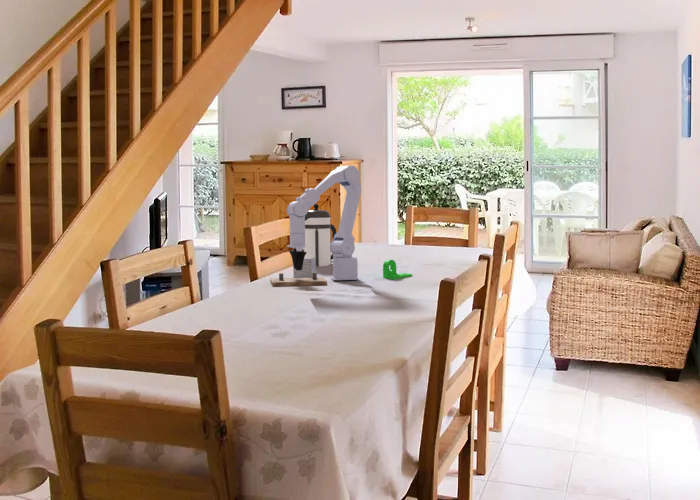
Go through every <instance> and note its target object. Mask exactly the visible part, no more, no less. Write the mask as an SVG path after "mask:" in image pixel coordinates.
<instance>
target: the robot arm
mask: <svg viewBox="0 0 700 500" xmlns="http://www.w3.org/2000/svg"><path fill="white" fill-rule="evenodd" d="M337 183H338V184H340V185H341V186H342V187H343V188H344V190H345V191H346V194H345V195H346V196H345V200H344V203H343V207H342V208H343V209H342V212H341V218H340V222H339V226H338V231H336V234H335V235H334V239H333V238H332V240H331V243H330V253H331V254H332V253H333V259H332V272H333V273H332V277H330V279H331V280H333V281H353V280H354V281H355V280H356V281H357V280H359V277H358V276H359V275H358V274H359V273H358V269H359V268H358V267H359V266H358V265H359V264H358V257H357V256H353V254H354V252H355V251H356V250H355V248H356V247H355V239H356V238H355V236H354V235H353V230H354V226H355V222H356V217H357V213H358V207H359V203H360V198H361V195H362V185H361V172H360V171H359V169H358V168H357V167H356V166H355V165H346V166H337V167H336V168H335V169H333V170H332V171H330V173H329V174H328V175H327V176H325V178H324V179H323V180H322V181H320V183H318V184H317V186H315V187H314V188H312V187H309V188H306V189H305V190H304V192H303V193H302V194H301V195H300V196H297V197H296V198H295V201H291V202H290V203H289V204H288V206H287V208H286V212H287V214H288V216H289V244H288V245H286V247H287V248H292V249H291V250H288V252H289V254H290V256H291V259H292V264H293V265H292V267H293V266H294V269H296V270H302V267H303V261H304V257H305V255H306V253H307V252H304V250H302V248H304V247H306V245H305V215H306V214H307V212H308V210H310V209H311V208H312V207H314V204H317V202H319V201H320V199H321V195H323V194H324V193H325V192H326V191H327V190H328V189H330V188H331V187H333V185H335V184H337Z"/></svg>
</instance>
